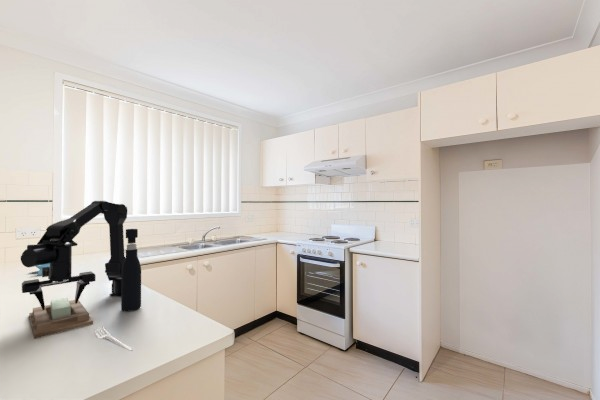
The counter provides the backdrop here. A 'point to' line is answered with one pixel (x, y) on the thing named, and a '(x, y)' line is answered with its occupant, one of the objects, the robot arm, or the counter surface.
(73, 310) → the socket board
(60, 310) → the peg
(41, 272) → the blue spiky figurine
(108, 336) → the fork
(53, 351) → the counter surface
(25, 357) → the counter surface
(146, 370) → the counter surface
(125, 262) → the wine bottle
